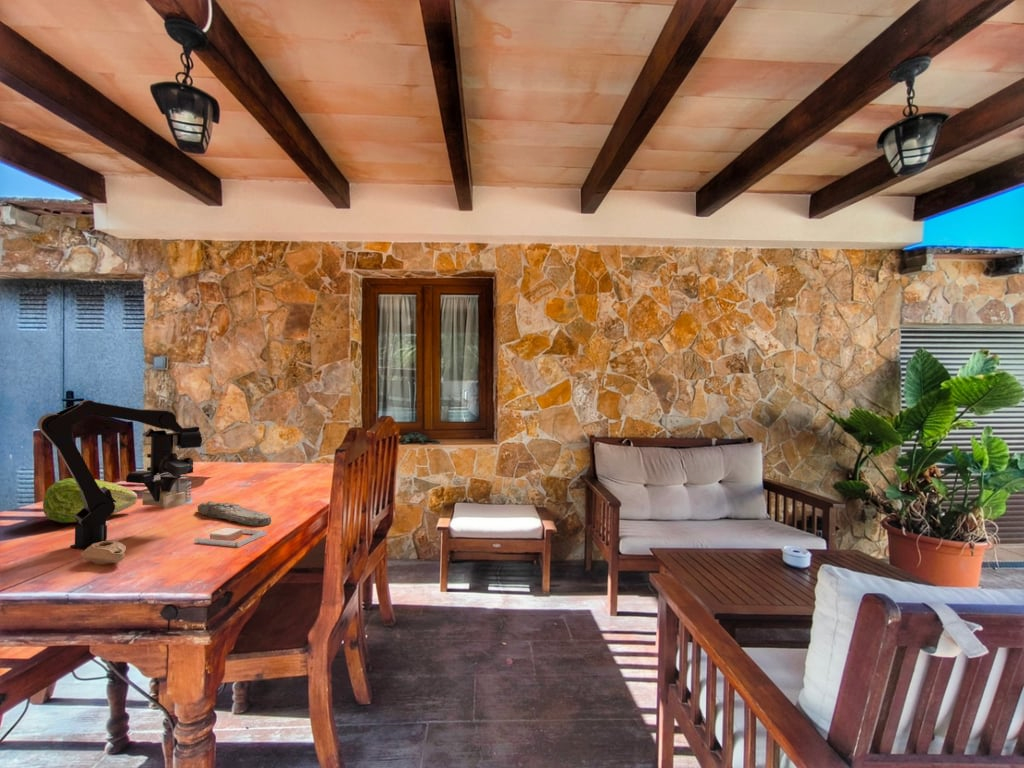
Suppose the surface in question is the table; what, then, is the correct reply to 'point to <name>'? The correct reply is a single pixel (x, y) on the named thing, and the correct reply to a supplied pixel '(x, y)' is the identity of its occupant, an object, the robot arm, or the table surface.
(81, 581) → the table surface
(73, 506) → the lettuce
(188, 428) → the robot arm
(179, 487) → the french press
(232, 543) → the bay
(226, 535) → the tile
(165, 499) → the pusher
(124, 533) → the table surface
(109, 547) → the pottery oil lamp
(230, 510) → the elongated rock
